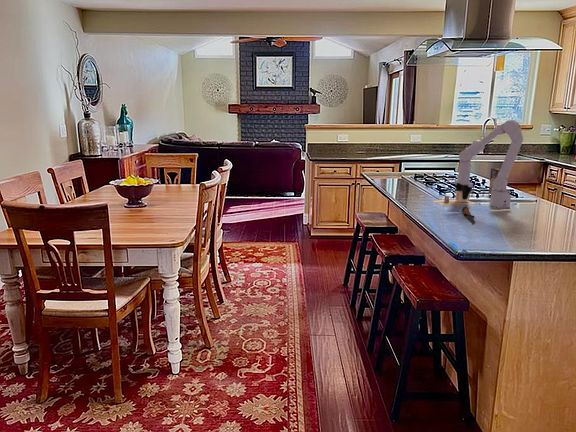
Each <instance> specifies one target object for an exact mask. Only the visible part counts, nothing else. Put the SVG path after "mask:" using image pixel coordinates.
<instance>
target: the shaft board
mask: <svg viewBox="0 0 576 432" xmlns="http://www.w3.org/2000/svg"><path fill="white" fill-rule="evenodd" d="M429 201H431V202H433V203H436V204H438V205H441V206H443V207H452V206H455V207H456V206H473V205H477V206H478V203H476V202H473V201H470V200H469V201H464V202H459V201H456V200H455V198H450V196H449V195H444V199H443V198H442V199H441V198H440V199H429Z"/></svg>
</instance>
